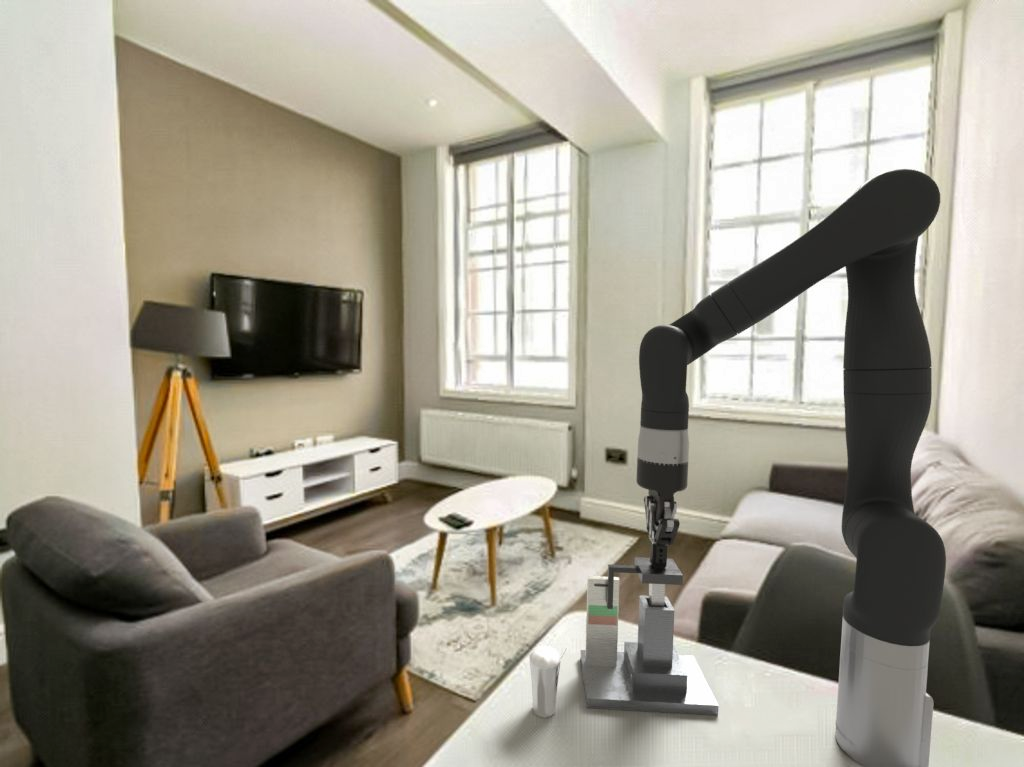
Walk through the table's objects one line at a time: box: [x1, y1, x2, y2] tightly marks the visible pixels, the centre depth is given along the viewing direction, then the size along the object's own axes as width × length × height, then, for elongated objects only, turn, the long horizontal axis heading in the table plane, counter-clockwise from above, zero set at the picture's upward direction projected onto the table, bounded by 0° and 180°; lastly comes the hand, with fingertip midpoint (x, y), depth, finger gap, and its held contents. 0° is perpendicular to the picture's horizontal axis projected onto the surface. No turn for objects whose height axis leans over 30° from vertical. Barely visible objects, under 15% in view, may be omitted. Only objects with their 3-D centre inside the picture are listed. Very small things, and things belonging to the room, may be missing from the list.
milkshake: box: [529, 645, 567, 719], centre depth 73 cm, size 4×5×10 cm
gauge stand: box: [580, 575, 719, 716], centre depth 79 cm, size 19×12×16 cm, turn 87°
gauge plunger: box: [607, 556, 684, 609], centre depth 79 cm, size 10×6×12 cm, turn 87°
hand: (658, 565), depth 78 cm, fingers closed
